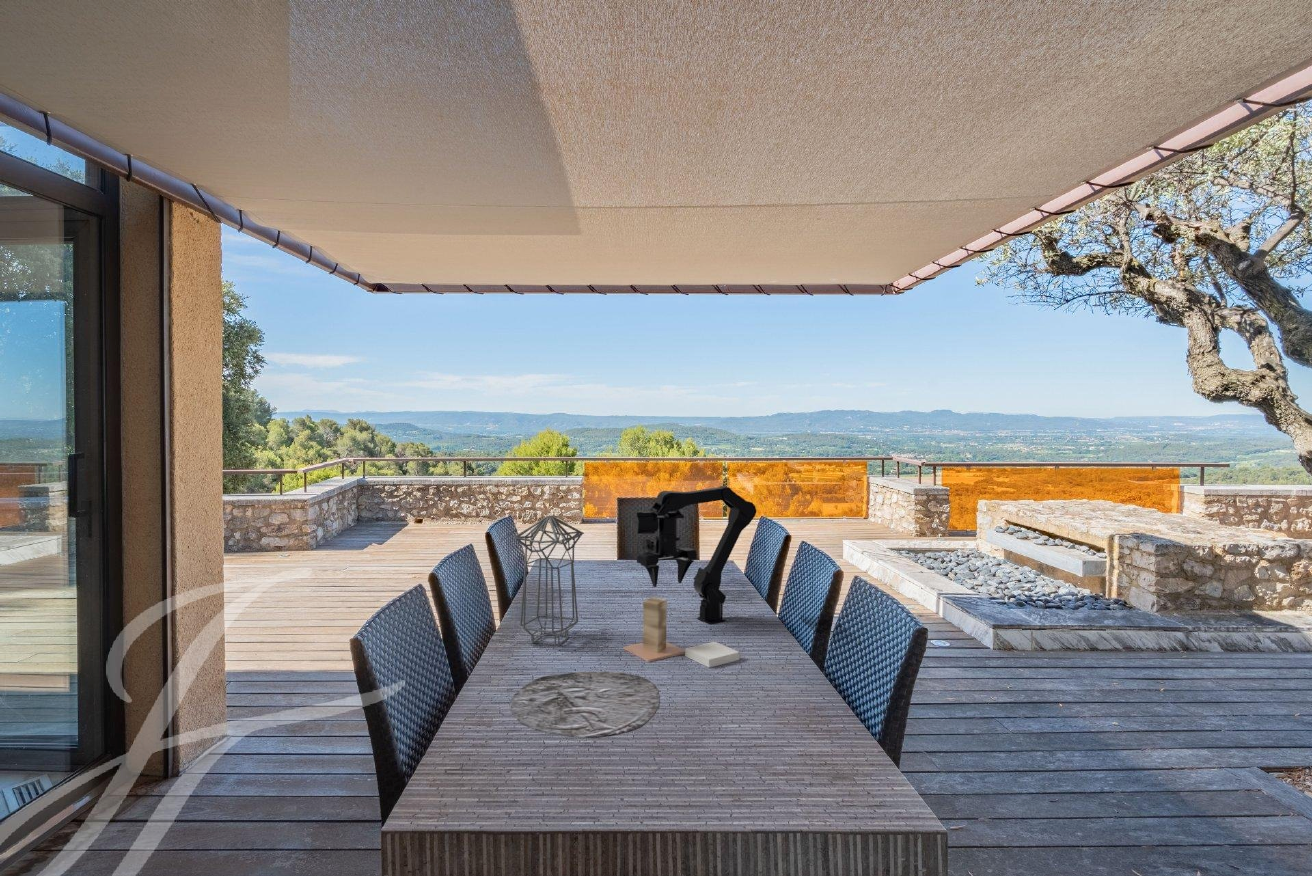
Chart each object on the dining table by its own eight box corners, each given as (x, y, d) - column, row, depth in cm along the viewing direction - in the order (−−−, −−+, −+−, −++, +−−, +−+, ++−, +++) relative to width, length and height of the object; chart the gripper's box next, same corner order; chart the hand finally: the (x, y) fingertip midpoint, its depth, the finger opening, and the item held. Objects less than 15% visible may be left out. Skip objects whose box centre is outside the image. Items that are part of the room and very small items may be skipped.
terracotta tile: (660, 640, 190) (660, 638, 190) (686, 653, 180) (686, 650, 180) (623, 648, 183) (623, 646, 183) (648, 662, 173) (648, 659, 173)
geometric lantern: (561, 652, 180) (562, 521, 179) (509, 645, 185) (510, 517, 184) (586, 634, 195) (587, 513, 194) (538, 629, 200) (538, 510, 199)
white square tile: (714, 648, 184) (714, 641, 184) (739, 659, 175) (739, 652, 175) (684, 655, 178) (685, 648, 178) (709, 667, 170) (709, 659, 170)
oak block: (652, 644, 185) (652, 597, 184) (666, 647, 182) (666, 599, 182) (643, 649, 181) (643, 601, 181) (657, 652, 179) (657, 603, 178)
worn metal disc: (515, 748, 128) (515, 746, 128) (505, 679, 162) (505, 678, 162) (684, 728, 137) (684, 726, 137) (641, 667, 170) (641, 665, 170)
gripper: (676, 527, 217) (676, 575, 217) (627, 532, 206) (626, 583, 206) (698, 531, 207) (698, 582, 208) (647, 537, 197) (647, 591, 197)
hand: (667, 584), depth 205 cm, fingers open, 9 cm apart
